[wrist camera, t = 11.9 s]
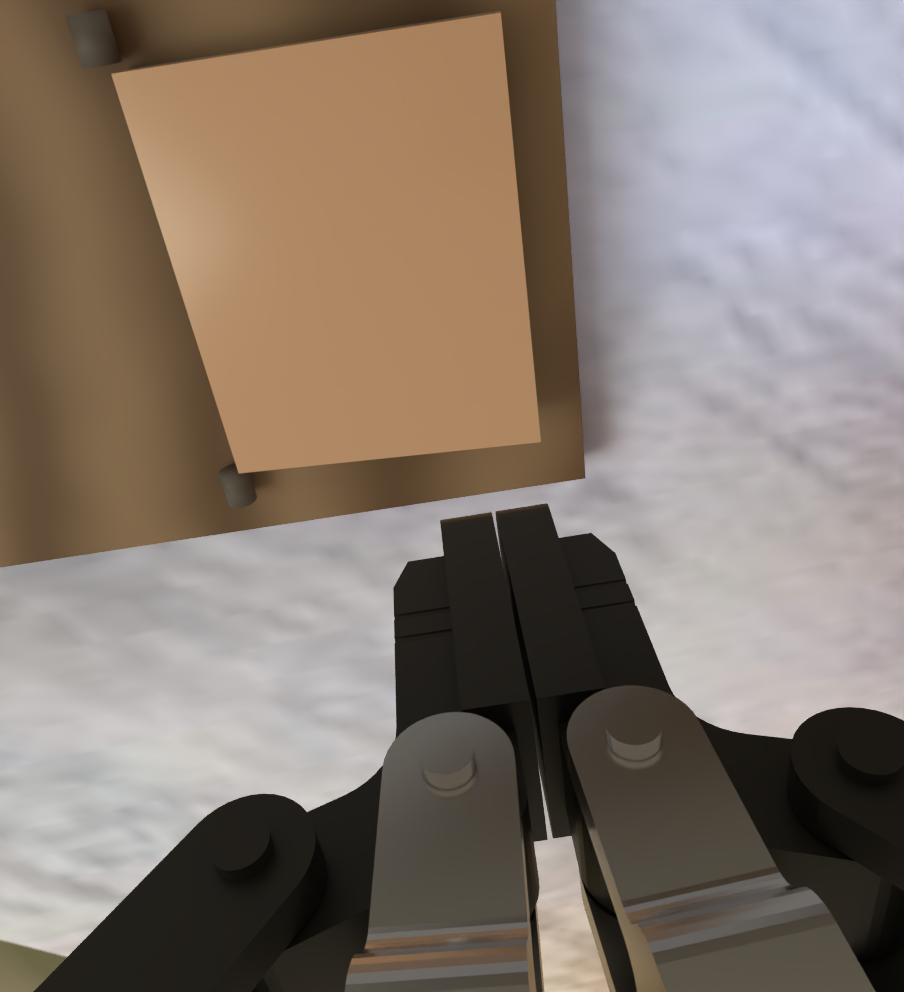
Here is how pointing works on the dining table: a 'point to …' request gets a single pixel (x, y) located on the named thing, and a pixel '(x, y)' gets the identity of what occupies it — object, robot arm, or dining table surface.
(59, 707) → the dining table surface
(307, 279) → the tile
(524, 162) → the board
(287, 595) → the dining table surface
